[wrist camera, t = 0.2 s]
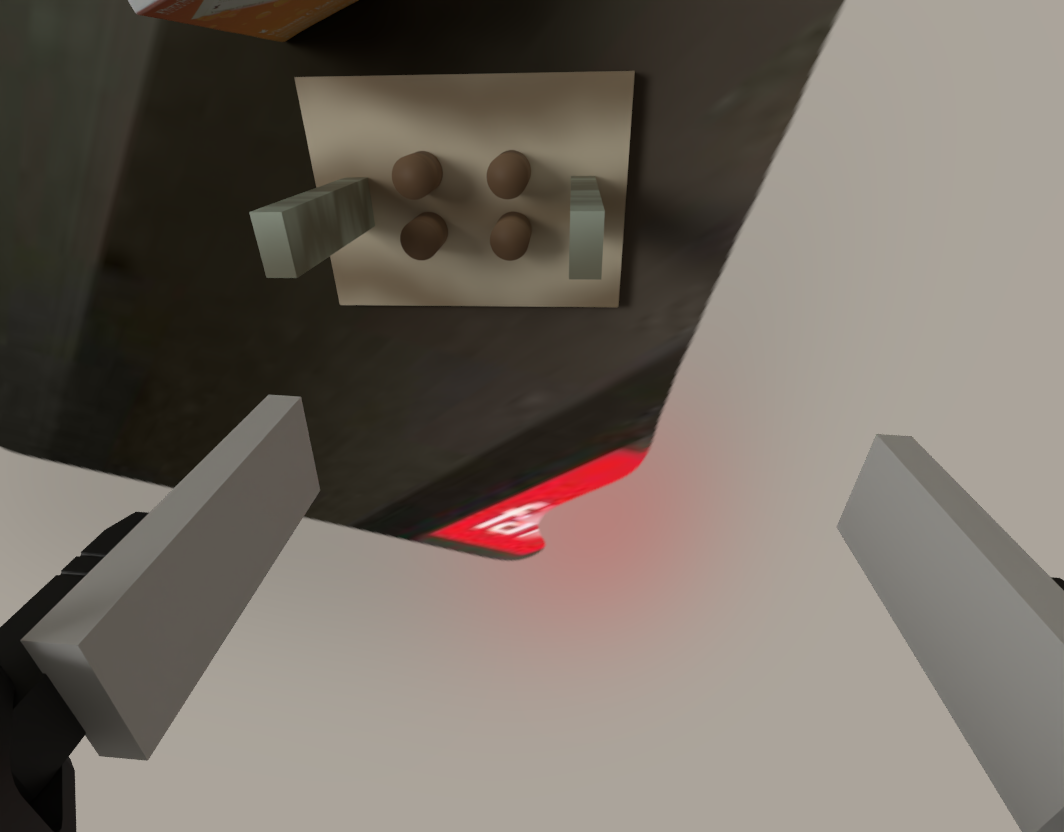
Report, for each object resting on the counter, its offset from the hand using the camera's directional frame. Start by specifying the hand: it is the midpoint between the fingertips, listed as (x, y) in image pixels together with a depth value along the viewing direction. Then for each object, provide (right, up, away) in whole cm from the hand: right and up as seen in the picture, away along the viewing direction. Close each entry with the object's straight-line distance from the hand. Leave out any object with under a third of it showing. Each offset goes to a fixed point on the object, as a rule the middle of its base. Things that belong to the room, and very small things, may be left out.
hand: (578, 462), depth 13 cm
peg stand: (-5, +16, +23) cm, 28 cm away
